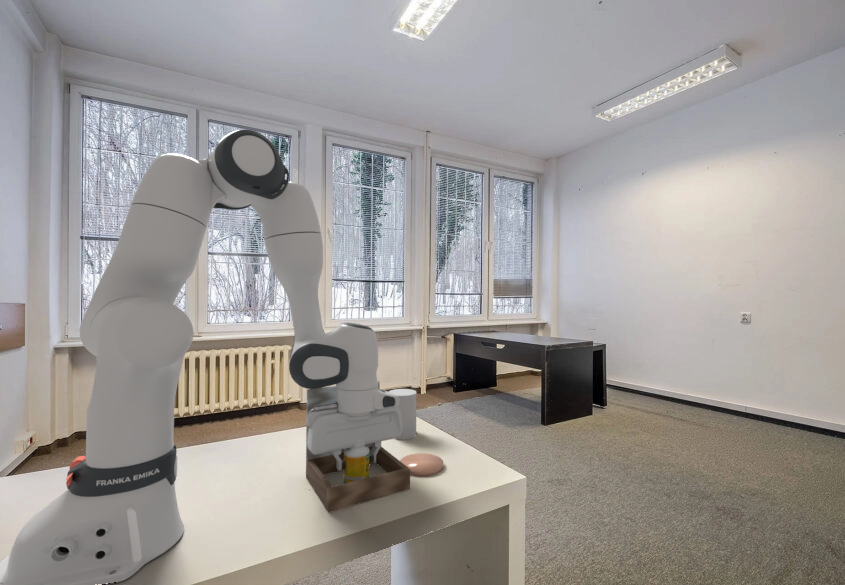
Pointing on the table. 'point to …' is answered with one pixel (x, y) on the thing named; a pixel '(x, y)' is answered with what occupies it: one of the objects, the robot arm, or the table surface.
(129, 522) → the robot arm
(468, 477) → the table surface
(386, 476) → the hinged wooden box
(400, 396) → the white cylinder
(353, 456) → the supplement bottle
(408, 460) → the pink flat disc
